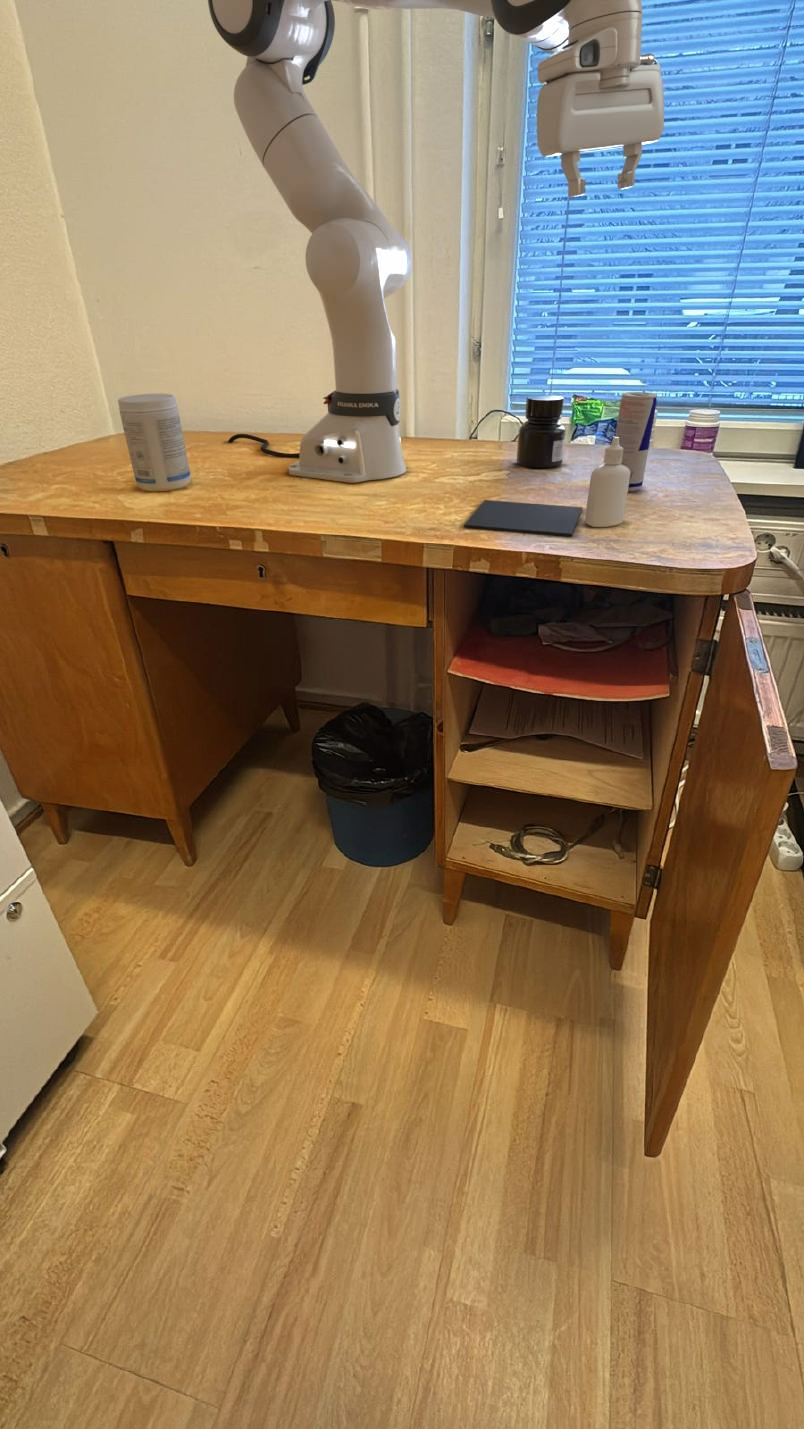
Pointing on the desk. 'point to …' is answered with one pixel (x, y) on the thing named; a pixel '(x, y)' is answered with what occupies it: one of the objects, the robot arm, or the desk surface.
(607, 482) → the eye dropper bottle
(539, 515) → the mat
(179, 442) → the supplement tub
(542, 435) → the ink bottle
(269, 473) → the desk surface
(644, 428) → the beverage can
